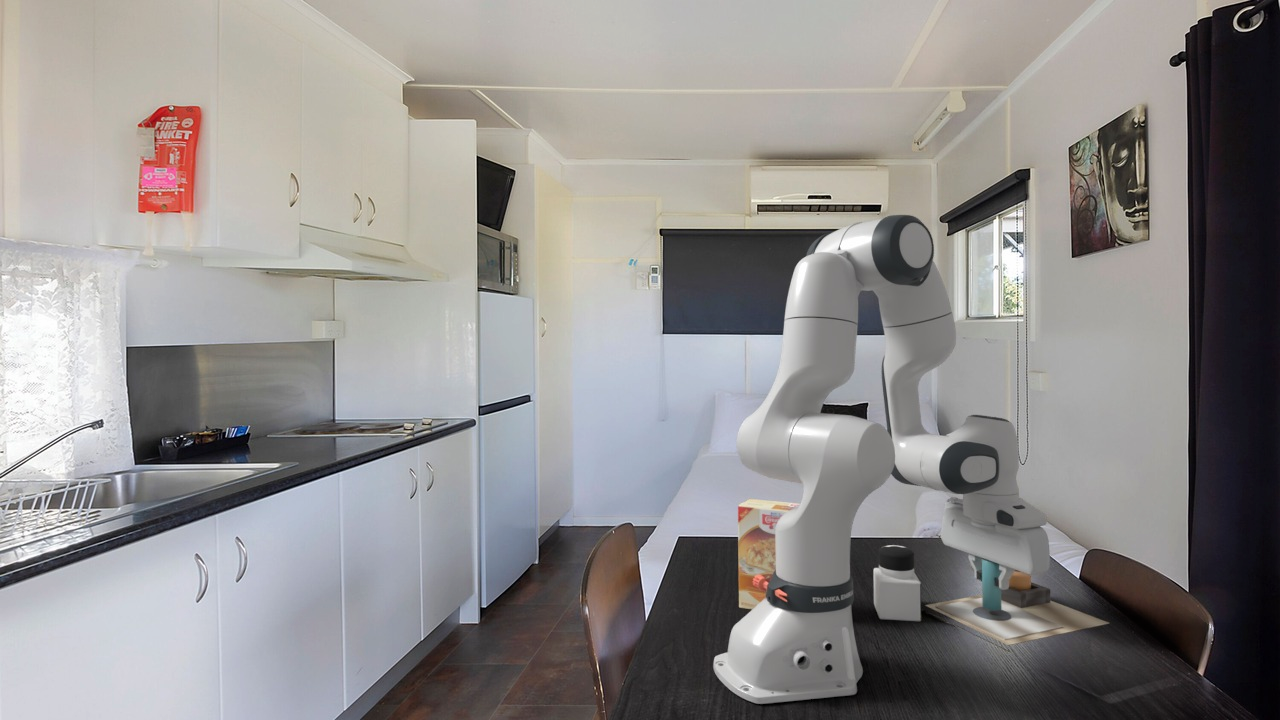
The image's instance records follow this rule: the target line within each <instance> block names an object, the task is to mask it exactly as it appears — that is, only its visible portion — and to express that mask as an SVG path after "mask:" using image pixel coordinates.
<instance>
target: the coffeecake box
mask: <svg viewBox="0 0 1280 720" xmlns="http://www.w3.org/2000/svg"><path fill="white" fill-rule="evenodd" d="M800 504H801V503H796V502H786V501H774V500H768V499H767V500H765V499H756V498H755V499H754V498H747V500H745V501H744V502H741V503H739V504H738V505H737V535H738V537H737V539H738V540H737V541H738V542H737V546H738V547H737V548H738V549H737V550H738V553H737V554H738V607H739V608H741V609H747V610H752V609H754V608H755V607H756V606H757V605H758V604H759V603H760V602H761V601H762V600H763V599H764V598H765V597H766V592H767V590H765V591H761V590H760V589H759V588H756V587H755V586H754V585H753V584H754V583H753V581H754V580H753V578H755V576H756V575H762V576H763V577H764V578H767V579H768V580H769V582H770V580H771V577H772V575H773V573H774V571H775V570H776V553H775V528H776V524H777V522H778V520H779V519H780V518H781V517H782V516H783V515H784V514H785V513H786V512H788V511H789V510H791V509H793V508H795V507H798V506H800Z"/></svg>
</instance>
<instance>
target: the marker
mask: <svg viewBox="0 0 1280 720" xmlns="http://www.w3.org/2000/svg"><path fill="white" fill-rule="evenodd" d="M1000 574H1001V570H999V564H998V563H995V562H992V561H989V560H986V559H983V558H982V581H981V586H982V587H981V590H982V591H981V593H982V594H981V595H982V606H983V607H984V608H986V609H989V610H1001V609H1002V604H1001V589H999V588H997V587H995V585H994V584H995V581H994V578H995V577H999V576H1000Z"/></svg>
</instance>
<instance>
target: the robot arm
mask: <svg viewBox="0 0 1280 720" xmlns="http://www.w3.org/2000/svg"><path fill="white" fill-rule="evenodd" d="M934 254H935V245H934V239H933V237H932V234H931V232H930V229H929V228H928V227H927V226H926V225H925V224H924V222H923V221H922V220H921V219H919V218H918V217H916V216H914V215H911V214H892V215H888V216H885V217H883V218H879V219H874V220H873V219H871V220H867V221H861V222H860V221H859V222H855V223H853V224H850V225H847V226H844V227H841V228H839V229H837V230H834V231H828V232H827V233H825V234H822V235H821V236H820V237H818V238H817V239H815V240H814V241H813V242H812V243H811V245H809V248H808V250H807V252H806V254H805V255H806V256H805V257H803V258H801V259H800V260H799V261H798V263H797V264H796V266H795V267H794V270H793V274H792V276H791V280H790V283H789V284H790V285H789V288H788V293H787V298H786V303H785V312H784V320H783V332H782V342H781V350H780V359H779V366H778V367H777V368H778V369H777V372H776V376H775V379H774V382H773V383H772V387H771V388H770V390H769V391H768V394H767V395H766V397H765V399H764V400H763V402H762V403H761V404H760V406H759V407H758V408H757V409H756V410H755V411H754V412H752V413H751V414H750V415H748V416H747V417H746V418H745V419H744V420H743V422H742V424H741V425H740V426H739V429H738V432H737V436H736V450H737V456H738V457H739V460H740V462H741V463H742V465H744V467H745V468H747V469H748V470H751V471H752V472H754V473H757V474H760V475H762V476H764V477H767V478H769V479H773V480H779V481H785V482H786V481H787V482H790V483H797V484H801V485H802V488H803V490H802V491H803V492H802V496H801V497H802V498H801V502H800V503H799V504H800V506H798V507H795V508H793V509H791V510H789V511H788V512H786V513H785V514H784V515H783V516H782V517H781V518H780V519H779V520H778V522H777V524H776V528H775V553H776V570H775V571H774V573H773V575H772V577H771V580H770V582H769V580H768V579H767V578H764V577H763V576H762V575H756V576H755V578H753V580H754V581H753V583H754V584H753V585H754V586H755V587H756V588H759V589H760V590H761V591H765V590H767V592H766V597H765V598H764V599H763V600H762V601H761V602H760V603H759V604H758V605H757V606H756V607H755V608H754V609H750V611H749V612H748V613H747V614H745V616H743V617H742V618H741V619H740V620H739V621H737V623H735V624H734V625H733V627H732V628H731V630H730V631H731V632H730V635H729V640H728V647H727V652H724V653H720V654H718V655H715V657H714V659H713V663H712V664H713V665H712V667H713V671H714V673H715V675H716V677H717V678H718V679H719V681H720V682H721V683H722V684H723V685H724V686H725V687H726V688H727V689H728V690H730V691H731V692H732V693H733V694H735V695H736V696H738V697H740V698H741V699H744V700H746V701H748V702H751V703H754V704H757V705H759V704H760V705H763V704H774V703H784V702H785V703H786V702H794V701H804V700H805V701H806V700H811V699H812V700H814V699H824V698H825V699H826V698H834V697H845V696H854V695H856V694H857V692H858V686H857V683H858V681H859V680H860V679H861V678H862V676H863V673H864V670H863V666H862V663H861V660H860V656H859V653H858V648H857V643H856V637H855V632H854V626H853V625H854V624H853V623H854V622H853V612H852V606H853V603H854V601H855V600H854V599H855V598H854V578H853V576H852V575H851V541H852V540H851V538H852V529H853V524H854V520H855V517H856V515H857V512H858V510H859V508H860V507H861V505H862V503H863V502H864V501H865V500H866V498H867V497H869V495H870V494H872V493H873V492H875V491H876V490H877V489H879V488H881V487H882V486H883V485H884V484H885V483H886V482H887V481H888V479H889V478H890V476H891V475H892V477H893V478H894V479H895V480H897V481H898V482H899V483H900V484H901V483H902V484H904V485H910V486H917V487H925V488H927V489H931V490H935V491H939V492H943V493H947V494H948V493H949V494H952V495H953V494H954V495H962V498H959V497H955V496H951V497H950V498H948V499H947V500H946V501H945V502H944V511H943V514H942V520H941V528H940V529H941V531H940V538H941V541H942V544H944V545H945V546H947V547H950V548H952V549H955V550H958V551H960V552H961V551H962V552H964V553H967V554H968V561H969V562H970V565H972V567H973V568H972V567H971V568H972V569H973V571H974V572H973V573H974V574H973V577H974V579H975V580H977V581H978V582H979V581H980V582H982V561H981V560H982V558H983V559H986V560H989V561H992V562H995V563H998V564H999V570H1001V571H1002V572H1001V574H1000V576H999V577H995V578H994V581H995V584H994V585H995V587H997V588H999V589H1002V590H1006V589H1008V588H1009V579H1010V578H1011V576H1012V575H1013V573H1014V572H1015V570H1018V571H1020V572H1023V573H1026V574H1029V575H1030V576H1037V575H1042V574H1043V575H1044V574H1045V573H1047V571H1048V570H1050V564H1051V556H1050V553H1051V551H1050V541H1049V537H1048V533H1047V532H1046V530H1045V529H1044V528H1043V526H1047V522H1048V519H1047V518H1048V517H1047V514H1046V513H1044V511H1041V510H1040V509H1039V508H1036V507H1035V506H1033V505H1031V504H1030V503H1028V502H1027V501H1026V500H1024V499H1023V498H1021V497H1020V489H1019V485H1018V482H1017V474H1018V470H1019V466H1020V465H1019V461H1020V460H1019V444H1018V437H1017V432H1016V429H1015V426H1014V423H1012V422H1011V421H1010V420H1008V419H1006V418H1002V417H996V416H988V415H982V414H971V415H968V416H967V417H966V418H965V421H964V423H962V425H960V427H958V428H956V429H955V430H954V431H952V432H950V433H948V434H946V435H942V434H941V435H940V434H934V433H930V432H929V431H927V429H926V428H925V426H923V424H922V423H923V422H922V414H921V405H920V394H919V386H920V385H919V384H920V381H921V379H922V378H923V376H924V375H925V374H926V373H929V372H930V371H933V370H934V369H936V368H937V367H939V366H940V365H943V363H944V362H945V361H947V359H948V358H949V357H950V356H951V354H952V353H953V351H954V350H955V348H956V344H957V331H956V329H957V328H956V323H955V320H954V315H953V310H952V306H951V302H950V299H949V296H948V295H949V294H948V293H947V289H946V286H945V284H944V281H943V279H942V276H941V273H940V272H939V269H938V267H937V265H936V264H935V262H934V256H935V255H934ZM862 291H866V292H867V291H868V292H869V291H872V292H873V293H874V294H875V295H876V296H877V299H878V304H879V305H878V306H879V313H880V319H881V324H882V329H883V335H884V340H885V341H884V342H885V352H884V353H885V354H884V355H883V357H882V358H883V359H882V361H881V385H882V392H883V393H882V396H883V403H884V410H885V411H884V413H885V421H886V427H885V426H884V425H882V424H880V423H878V422H874V421H871V420H868V419H866V418H862V417H858V416H854V415H849V414H839V413H837V414H835V413H824V412H821V411H822V408H823V406H824V403H825V401H826V399H827V398H828V396H829V395H830V394H831V393H832V392H833V391H834V390H836V389H838V388H840V387H842V386H843V385H845V384H846V383H847V382H848V381H849V380H850V379H851V378H852V376H853V374H854V370H855V367H856V365H855V363H856V353H857V352H856V350H857V349H856V348H857V337H858V325H859V324H858V322H859V296H860V293H861V292H862Z"/></svg>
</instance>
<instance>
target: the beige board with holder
mask: <svg viewBox="0 0 1280 720" xmlns="http://www.w3.org/2000/svg"><path fill="white" fill-rule="evenodd" d="M1001 604H1002V609H1001V610H989V609H986V608H984V607H983V606H982V594H979V595H975V596H969V597H963V598H958V599H956V598H955V599H953V600H952V599H951V600H946V601H941V602H940V601H939V602H936V603H929V604H925V605H924V607H927V608H930V609H931V610H933V611H935V612H937V613H940V614H942V615H944V616H945V617H948V618H950V619H953V620H955V621H956V622H959V623H961V624H963V625H964V626H967V627H969V628H971V629H972V630H975V631H977V632H980V633H981V634H983V635H985V636H988V637H990V638H992V639H994V640H996V641H998V642H1000V643H1002V644H1004V645H1006V646H1012V645H1016V644H1017V645H1018V644H1021V643H1025V642H1030V641H1034V640H1038V639H1039V640H1040V639H1043V638H1048V637H1049V638H1050V637H1052V636H1058V635H1062V634H1068V633H1072V632H1076V631H1082V630H1086V629H1090V628H1095V627H1100V626H1104V625H1108V624H1110V622H1108V621H1105V620H1104V619H1103V620H1102V619H1100V618H1097V617H1095V616H1093V615H1089V614H1088V613H1084V612H1081V611H1080V610H1076V609H1074V608H1071V607H1069V606H1066V605H1063V604H1060V603H1058V602H1055V601H1052V600H1051V588H1049V587H1046V586H1042V585H1041V584H1037V583H1034V582H1032V581H1031V590H1025V591H1018V590H1015V589H1013V588H1010V587H1009V588H1008V589H1006V590H1002V589H1001ZM924 611H925V612H927V613H929V614H931V615H933V616H935V617H937V618H939V619H941V620H943V621H945V622H947V621H948V620H947V619H944V618H943V617H941V616H938V615H936V614H934V613H933V612H930V611H928V610H926V609H924ZM947 623H949V624H951V625H952V626H956V627H957V628H960V629H961V630H964V631H966V632H968V633H970V634H972V635H974V636H976V637H978V638H980V639H981V640H984V641H986V642H988V643H990V644H992V645H994V646H996V647H998V648H999V649H1000V648H1001V649H1002V650H1005V651H1007V652H1009V649H1005V648H1004V647H1002V646H1000V645H998V644H995V643H994V642H992V641H990V640H988V639H986V638H983V637H981V636H980V635H977V634H975V633H973V632H971V631H969V630H968V629H965V628H963V627H961V626H958V625H956V624H955V623H952V622H950V621H948V622H947Z"/></svg>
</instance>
